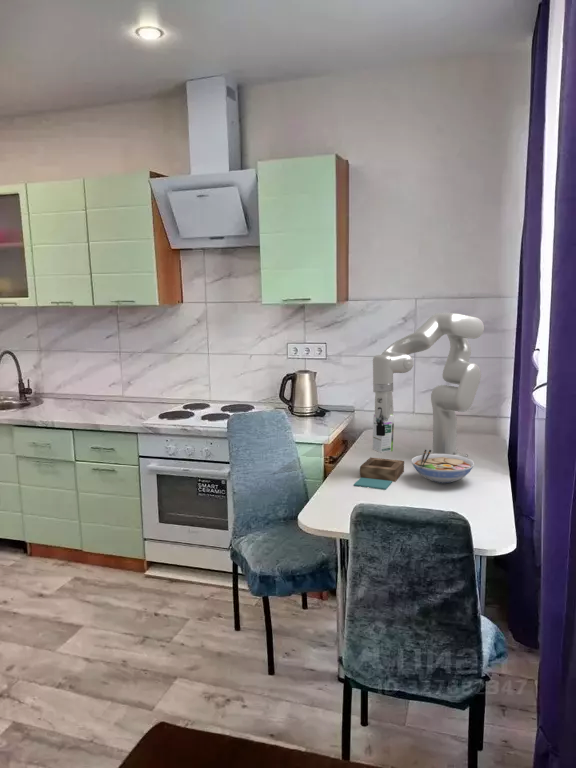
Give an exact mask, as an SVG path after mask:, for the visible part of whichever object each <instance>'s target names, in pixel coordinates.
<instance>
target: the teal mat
mask: <svg viewBox="0 0 576 768" xmlns="http://www.w3.org/2000/svg"><path fill="white" fill-rule="evenodd" d="M392 484H393V482H392V481H388V480H380V479H371V478H362V477H361V478H360V477H359V479H358V480H357V481H355V483H353V487H359V486H361V487H362V488H367V487H369V488H370V489H377V490H384V491H385V490H387V489H388V488H389V487H390V486H391V485H392ZM361 487H360V488H361ZM369 488H368V489H369Z"/></svg>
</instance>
